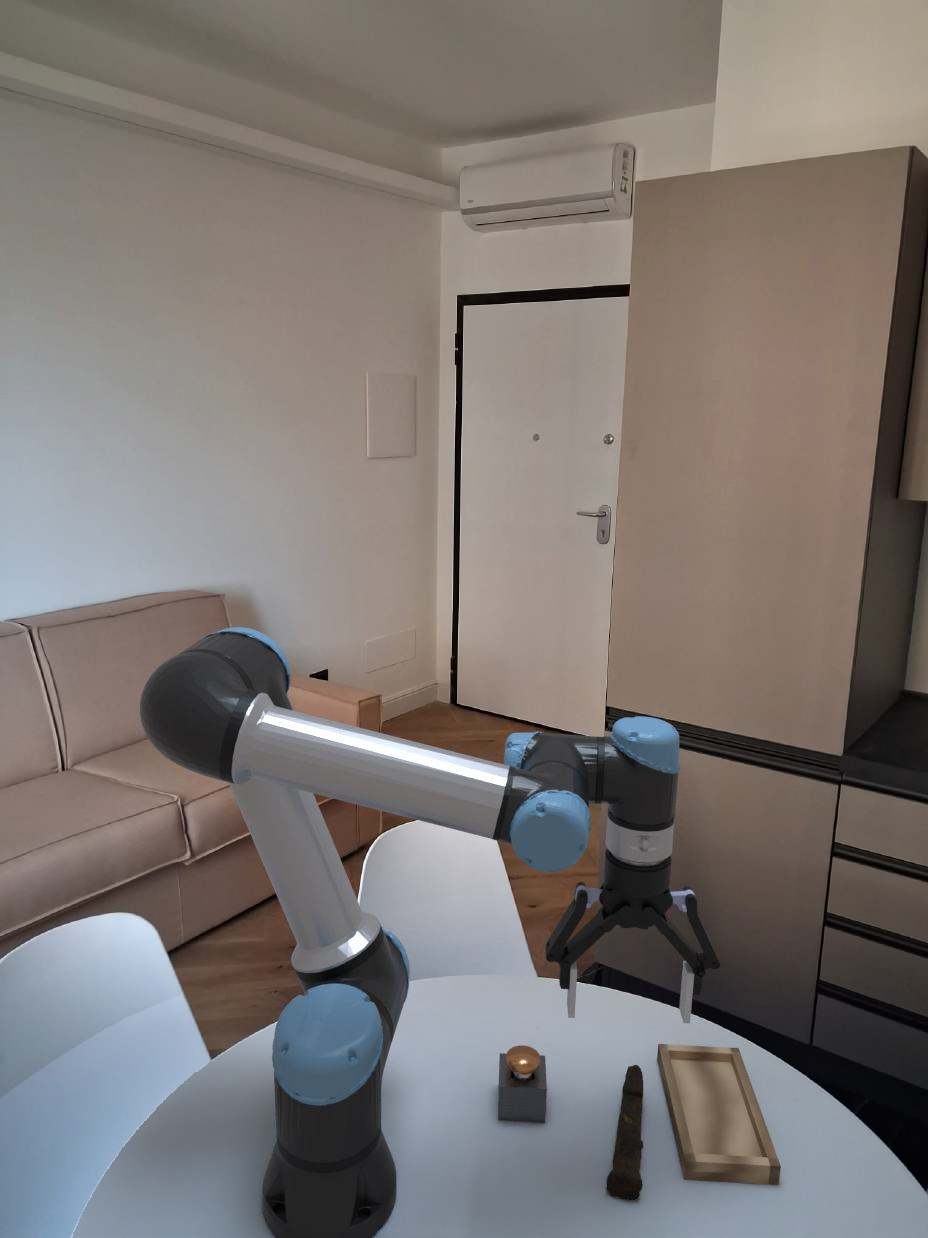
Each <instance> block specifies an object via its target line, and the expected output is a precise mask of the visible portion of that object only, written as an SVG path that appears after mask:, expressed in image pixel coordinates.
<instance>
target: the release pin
mask: <svg viewBox="0 0 928 1238" xmlns="http://www.w3.org/2000/svg"><path fill="white" fill-rule="evenodd" d="M505 1054H506V1065H507V1067H508V1068H509V1069H510V1070H511V1071H512V1072H513V1079H530V1080H532V1073H534V1072H536V1071H537V1070H538V1069H539V1067H540V1055H541V1054H540V1053H539V1052H538V1050H537V1049H535V1048H534V1047H532V1046H528V1045H524V1044H523V1045H522V1044H521V1045H520V1044H519V1045H515V1046H512V1047H511V1048H509V1049H508V1050H507V1052H506V1053H505Z"/></svg>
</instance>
